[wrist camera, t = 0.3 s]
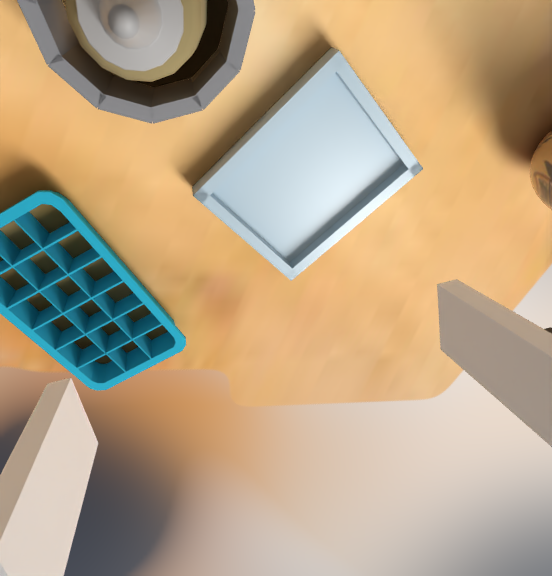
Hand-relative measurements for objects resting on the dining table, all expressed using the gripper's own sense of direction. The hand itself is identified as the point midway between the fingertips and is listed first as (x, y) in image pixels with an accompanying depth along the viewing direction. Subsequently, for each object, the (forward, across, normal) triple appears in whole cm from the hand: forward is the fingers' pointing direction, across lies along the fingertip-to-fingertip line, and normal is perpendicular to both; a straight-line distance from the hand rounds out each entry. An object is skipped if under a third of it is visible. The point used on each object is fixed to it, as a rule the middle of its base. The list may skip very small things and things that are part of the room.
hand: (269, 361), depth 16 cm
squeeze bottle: (+24, -1, +17) cm, 29 cm away
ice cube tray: (+30, -14, -5) cm, 34 cm away
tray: (+27, +9, +2) cm, 28 cm away
